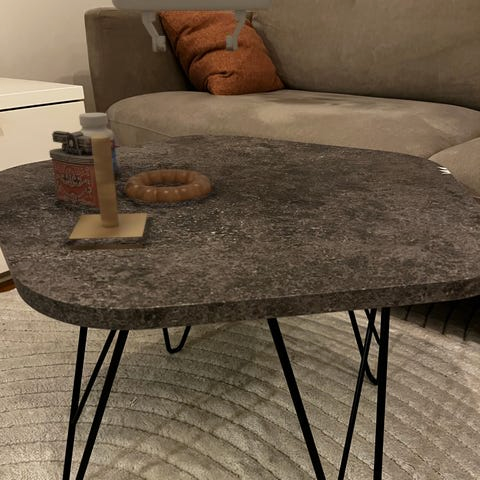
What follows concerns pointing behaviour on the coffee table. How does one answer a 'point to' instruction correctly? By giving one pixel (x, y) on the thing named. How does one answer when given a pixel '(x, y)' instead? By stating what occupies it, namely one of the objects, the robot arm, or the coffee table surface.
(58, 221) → the coffee table surface
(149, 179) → the ring
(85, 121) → the pill bottle
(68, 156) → the lighter
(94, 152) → the paper towel holder
